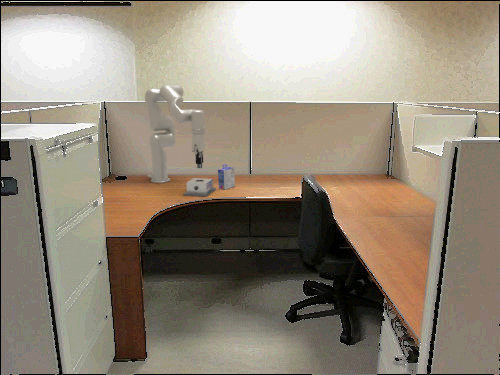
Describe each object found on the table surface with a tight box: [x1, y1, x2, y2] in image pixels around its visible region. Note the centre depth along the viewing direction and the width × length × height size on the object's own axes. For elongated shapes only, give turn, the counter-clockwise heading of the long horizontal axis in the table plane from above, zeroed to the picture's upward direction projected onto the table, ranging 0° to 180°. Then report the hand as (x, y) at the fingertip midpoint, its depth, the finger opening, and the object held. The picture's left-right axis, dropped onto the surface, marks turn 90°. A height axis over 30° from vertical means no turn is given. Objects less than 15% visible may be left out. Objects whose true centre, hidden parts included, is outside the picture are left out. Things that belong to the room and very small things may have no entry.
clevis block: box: [183, 177, 217, 198], centre depth 260 cm, size 14×18×7 cm
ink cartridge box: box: [217, 163, 236, 190], centre depth 271 cm, size 10×6×14 cm, turn 141°
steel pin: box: [196, 151, 203, 169], centre depth 256 cm, size 3×3×10 cm
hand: (199, 163), depth 256 cm, fingers closed on steel pin, 3 cm apart
